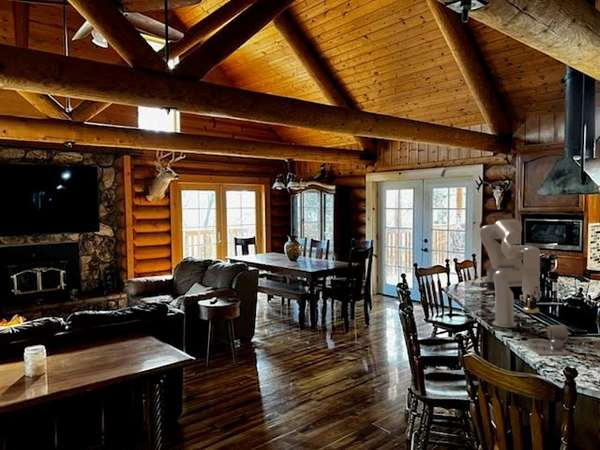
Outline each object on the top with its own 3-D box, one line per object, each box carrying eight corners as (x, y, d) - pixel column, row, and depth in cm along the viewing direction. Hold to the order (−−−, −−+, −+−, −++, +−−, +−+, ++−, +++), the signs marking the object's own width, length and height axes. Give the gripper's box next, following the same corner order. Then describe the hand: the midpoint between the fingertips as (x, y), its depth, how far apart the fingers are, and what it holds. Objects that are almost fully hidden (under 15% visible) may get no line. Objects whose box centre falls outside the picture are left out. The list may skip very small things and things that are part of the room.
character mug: (520, 314, 277) (520, 293, 276) (518, 311, 284) (518, 291, 283) (540, 314, 274) (540, 294, 273) (537, 312, 280) (538, 291, 280)
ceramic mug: (545, 337, 230) (545, 322, 229) (563, 337, 228) (563, 322, 228) (552, 343, 219) (552, 328, 219) (571, 344, 218) (571, 329, 217)
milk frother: (497, 290, 350) (497, 271, 349) (476, 288, 359) (476, 270, 358) (501, 287, 362) (501, 269, 361) (480, 285, 371) (480, 268, 370)
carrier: (521, 343, 221) (521, 333, 220) (550, 343, 220) (550, 333, 220) (538, 355, 204) (538, 344, 203) (569, 354, 203) (569, 344, 203)
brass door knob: (520, 309, 229) (520, 297, 228) (534, 309, 229) (534, 296, 228) (527, 313, 222) (527, 300, 222) (541, 313, 222) (541, 299, 221)
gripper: (516, 269, 232) (516, 303, 234) (531, 274, 216) (531, 311, 217) (531, 268, 232) (530, 303, 233) (547, 274, 216) (546, 311, 217)
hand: (531, 307), depth 225 cm, fingers closed on brass door knob, 3 cm apart
